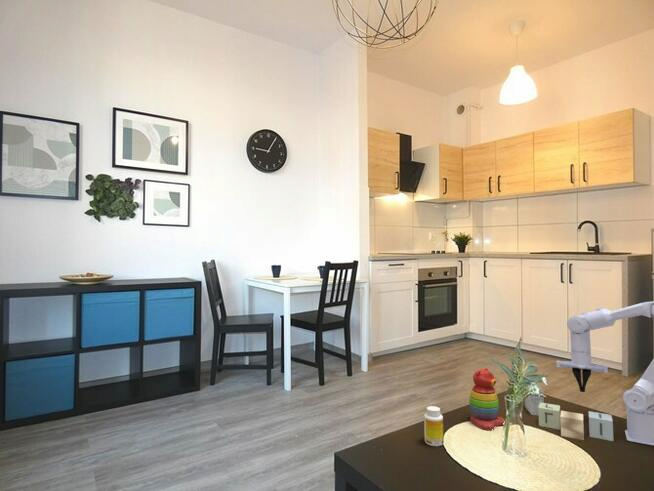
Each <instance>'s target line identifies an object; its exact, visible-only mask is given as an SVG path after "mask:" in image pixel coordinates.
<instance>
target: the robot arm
mask: <svg viewBox="0 0 654 491" xmlns="http://www.w3.org/2000/svg"><path fill="white" fill-rule="evenodd" d="M638 316H644V317H648V318H650V319H651V318H654V300H653V301H644V302H640V303H637V304H633V305H629V306H625V307H622V308H618V309H615V310H609V308H602V307H598V308H595V311H593V310H592V311H590V312H586V311H584V312H581V314H579V315H573V316H570V317H569V318H568V319H567V321H566V326H567V328H568V330H569V331H570V336H569V337H570V359H571V361H570V360H569V361H567V360H556V368H564V369H571V370H572V374H573V375H574V377H575V380H576V382H577V385H578V387H579V392H580V393H585V392H586V386H587V384H588V383H587V382H588V381H589V379H590V377H591V375H592V372H600V373H605V374H608V372H609V370H608V365H602V364H596V363H592V350H591V334H590V333H591V332H590V331H595V330H599V329H600V330H601V329H604V328H608V327H612V326H614V325H615V323H616V321H619V320H623V319H624V320H625V319H630V318H634V317H638ZM622 400H623V403H624V404H625V406H626V429H625V430H624V432H625V437H626V441H629V442H633V443H638V444H643V445H648V446H654V358H653V359H652V361H651V362H650V363H649V365H648V366H647V368H646V370H644V373H643V374H642V375H641V377H640V379H638V380H637V381H636V382H635V384H634V385H633V386H632V387H631V388H630V389H628V390H626V391H624V393H623V394H622Z"/></svg>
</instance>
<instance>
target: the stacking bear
mask: <svg viewBox="0 0 654 491" xmlns="http://www.w3.org/2000/svg"><path fill="white" fill-rule="evenodd" d="M472 379H473V383H474V385H473V387H472V388H471V389H470V393H469V398H468V399H469V401H468V403H469V409H470V413H471V415H470V419H469V420H470V422H471V423H472V424H473V425H474V426H475V425H476V426H475V427H476V428H480V429H481V428H482V430H484V431H493V430H492V429H494V430H495V428H496V427H499V426H498V425H503V423H504V421H505V422H506V420H505V418H503V417H501V416H498V414H499V407H500V403H499V402H500V401H499V398H498V395H497V392H496V389H495V385H496V384H497V378H496V377H495V376H494V375H493V373H492V372H491V371H490V370H489V369H488V368H487V367H485V368H484V369H483V368H481V369H480V368H479V369H477V370H476V371H474V373H473V376H472ZM495 426H496V427H495ZM494 427H495V428H494Z"/></svg>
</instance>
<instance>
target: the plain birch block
mask: <svg viewBox="0 0 654 491" xmlns="http://www.w3.org/2000/svg"><path fill="white" fill-rule="evenodd" d="M560 421H561V425H560V436H561V437H565V438H571V439H575V440H580V441H585V428H584V426H585V425H584V414H583V413H578V412H573V411H572V412H571V411H565V410H560Z"/></svg>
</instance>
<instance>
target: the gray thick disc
mask: <svg viewBox="0 0 654 491" xmlns="http://www.w3.org/2000/svg"><path fill="white" fill-rule="evenodd" d="M541 391H542V393H543V394H544V391H543V390H542V389H541ZM540 402H541V403H545V401H544V396H543V397H539V396H534V395H529V396H528V397H527V398H526V399H525V398H524V408H525V409H526V410H527V411H528V413H529V414H530V415H531V416H537V417H539V412H538V407H539V404H540Z"/></svg>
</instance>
